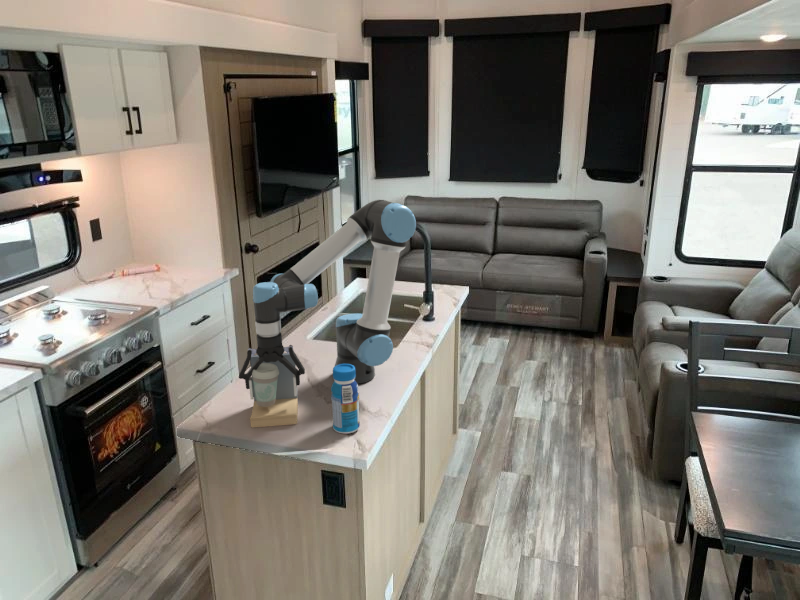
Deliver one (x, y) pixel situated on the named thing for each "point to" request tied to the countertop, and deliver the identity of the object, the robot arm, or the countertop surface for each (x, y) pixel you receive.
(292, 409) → the grey board on stand
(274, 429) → the countertop surface
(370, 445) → the countertop surface
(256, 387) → the coffee cup
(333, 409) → the beverage bottle
